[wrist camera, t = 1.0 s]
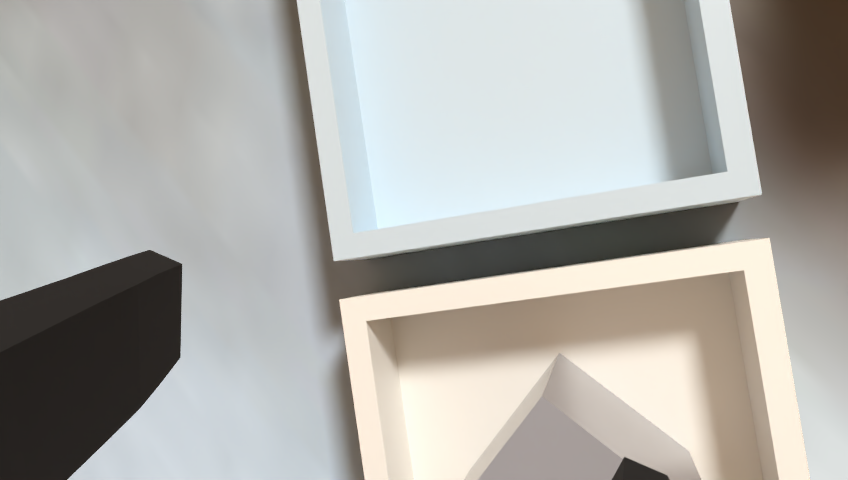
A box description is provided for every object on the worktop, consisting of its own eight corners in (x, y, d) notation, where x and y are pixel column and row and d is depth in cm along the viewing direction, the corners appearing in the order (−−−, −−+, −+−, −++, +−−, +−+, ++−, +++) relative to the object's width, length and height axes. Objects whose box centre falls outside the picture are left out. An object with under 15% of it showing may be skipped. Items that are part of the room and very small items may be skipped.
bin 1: (739, 201, 21) (762, 194, 18) (366, 259, 24) (333, 261, 21) (676, -180, 22) (687, -246, 19) (317, -82, 24) (279, -127, 21)
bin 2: (813, 641, 21) (848, 706, 18) (423, 650, 23) (397, 708, 20) (746, 239, 21) (769, 237, 18) (371, 292, 24) (339, 299, 21)
